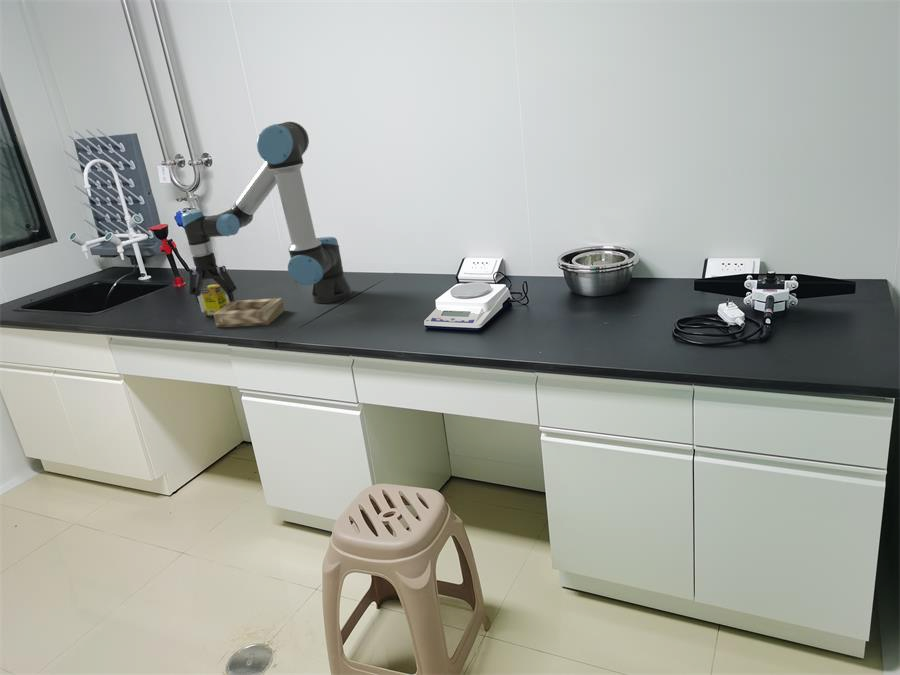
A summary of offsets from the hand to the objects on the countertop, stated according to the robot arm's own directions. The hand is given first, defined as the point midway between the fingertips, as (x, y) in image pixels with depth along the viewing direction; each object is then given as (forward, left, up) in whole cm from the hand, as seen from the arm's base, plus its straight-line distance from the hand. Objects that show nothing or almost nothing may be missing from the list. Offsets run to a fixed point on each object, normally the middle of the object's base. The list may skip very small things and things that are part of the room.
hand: (218, 310), depth 243 cm
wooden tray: (-17, +7, -2) cm, 18 cm away
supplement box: (0, 0, -2) cm, 2 cm away
